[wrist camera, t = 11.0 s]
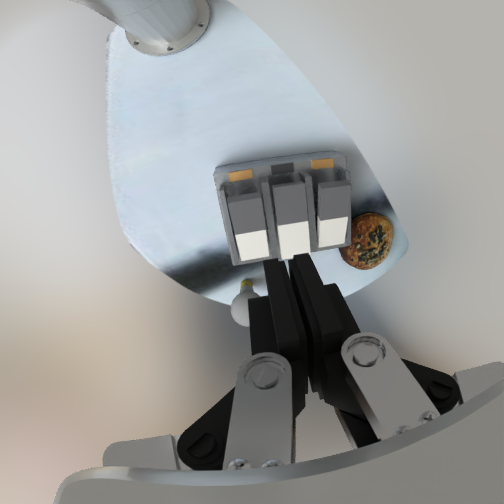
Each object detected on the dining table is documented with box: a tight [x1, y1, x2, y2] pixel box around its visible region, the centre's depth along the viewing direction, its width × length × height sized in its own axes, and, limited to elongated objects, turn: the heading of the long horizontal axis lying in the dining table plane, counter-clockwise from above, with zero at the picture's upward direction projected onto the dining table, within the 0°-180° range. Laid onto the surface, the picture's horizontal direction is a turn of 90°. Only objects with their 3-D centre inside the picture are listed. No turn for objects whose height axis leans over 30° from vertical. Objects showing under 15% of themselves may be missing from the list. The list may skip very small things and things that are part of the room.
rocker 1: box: [227, 192, 269, 261], centre depth 35 cm, size 10×4×1 cm, turn 9°
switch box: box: [213, 151, 351, 266], centre depth 39 cm, size 14×18×8 cm
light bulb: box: [231, 280, 260, 326], centre depth 45 cm, size 6×6×10 cm
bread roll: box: [339, 213, 393, 270], centre depth 45 cm, size 11×11×5 cm
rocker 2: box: [272, 181, 310, 260], centre depth 35 cm, size 10×4×1 cm, turn 9°
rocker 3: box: [317, 180, 352, 248], centre depth 35 cm, size 10×4×1 cm, turn 9°
